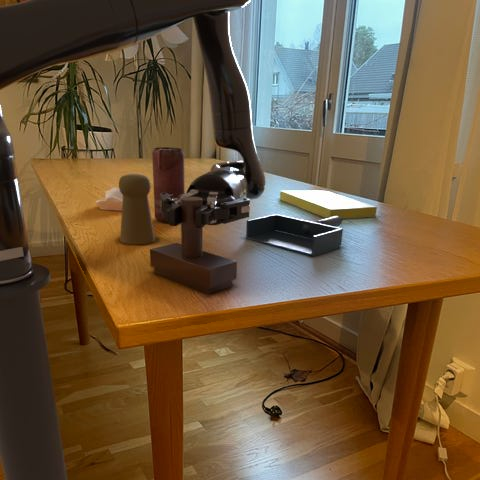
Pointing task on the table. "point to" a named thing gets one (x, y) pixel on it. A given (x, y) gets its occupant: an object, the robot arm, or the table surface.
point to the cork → (136, 210)
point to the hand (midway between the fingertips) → (185, 218)
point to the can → (167, 175)
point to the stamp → (193, 256)
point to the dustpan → (296, 233)
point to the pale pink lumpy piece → (111, 200)
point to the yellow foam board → (328, 204)
